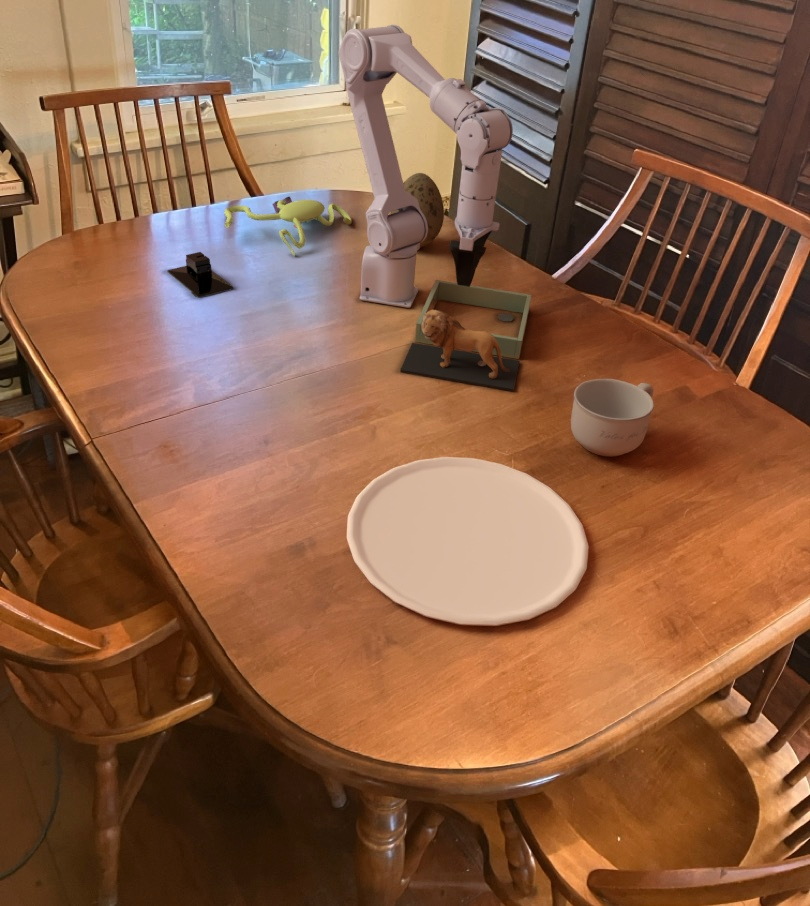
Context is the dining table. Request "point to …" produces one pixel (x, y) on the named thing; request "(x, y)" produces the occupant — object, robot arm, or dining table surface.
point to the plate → (467, 541)
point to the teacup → (611, 415)
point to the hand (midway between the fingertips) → (467, 275)
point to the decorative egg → (427, 203)
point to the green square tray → (485, 299)
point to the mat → (459, 367)
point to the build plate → (199, 276)
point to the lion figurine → (460, 340)
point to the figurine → (292, 216)
